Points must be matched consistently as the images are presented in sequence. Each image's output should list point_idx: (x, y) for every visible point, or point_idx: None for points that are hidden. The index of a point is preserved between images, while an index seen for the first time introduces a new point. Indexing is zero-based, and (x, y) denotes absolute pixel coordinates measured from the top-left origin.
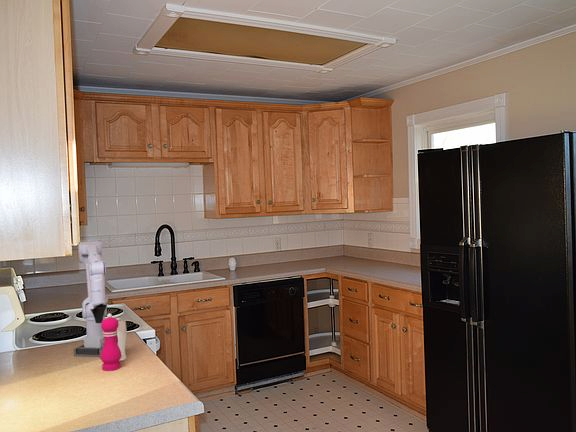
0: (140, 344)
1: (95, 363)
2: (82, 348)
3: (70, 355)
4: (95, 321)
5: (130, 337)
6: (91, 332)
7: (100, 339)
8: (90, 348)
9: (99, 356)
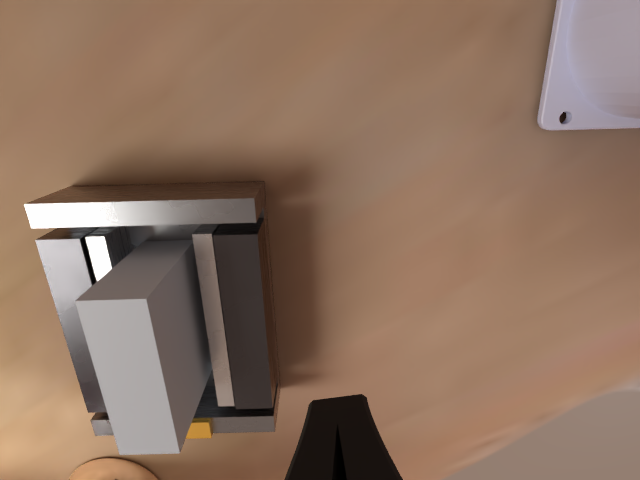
0: (431, 473)
1: (4, 419)
2: (61, 282)
3: (77, 139)
4: (307, 419)
5: (632, 337)
6: (623, 24)
7: (131, 446)
8: (87, 347)
9: None
